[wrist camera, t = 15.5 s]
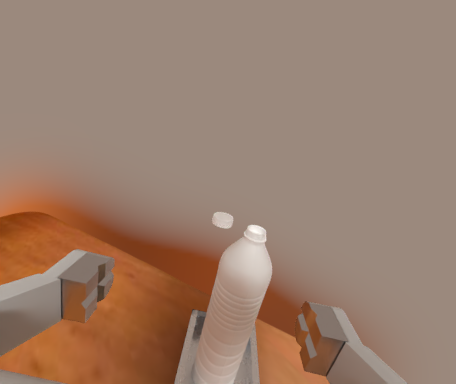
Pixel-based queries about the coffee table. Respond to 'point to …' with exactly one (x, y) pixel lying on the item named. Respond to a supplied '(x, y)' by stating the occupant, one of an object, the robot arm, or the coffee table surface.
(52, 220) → the coffee table surface
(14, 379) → the robot arm
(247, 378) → the keeper cradle
